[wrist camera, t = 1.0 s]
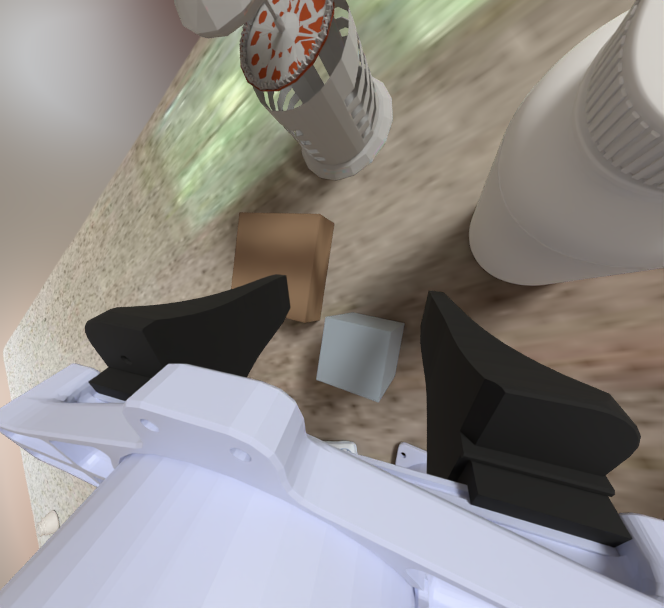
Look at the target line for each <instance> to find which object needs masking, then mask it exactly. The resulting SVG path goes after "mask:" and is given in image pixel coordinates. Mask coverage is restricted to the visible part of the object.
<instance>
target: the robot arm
mask: <svg viewBox="0 0 664 608" xmlns="http://www.w3.org/2000/svg"><path fill="white" fill-rule="evenodd" d="M290 308H291V306H290V299H289V291H288V284H287V276H286V275H279V274H275V275H270V276H267V277H264V278H261V279H259V280H256V281H253V282H250V283H248V284H245V285H242V286H239V287H236V288H234V289H231V290H228V291H225V292H221V293H218V294H214V295H210V296H206V297H202V298H197V299H192V300H187V301H182V302H175V303H168V304H160V305H150V306H135V307H117V308H113V309H110V310H108V311H106V312H104V313H102V314H100V315H98V316H96V317H94V318H92V319H91V320H89V321H87V323H86V325H85V333H86V335H87V338H88V339H89V341H90V343H91V344H92V346H93V347H94V348H95V350H96V351H97V352H98V354H99V355H100V356H101V358H102V359H103V360H104V362H105V363H106V364H107V366H108V368H107V369H106V370H104V371H103V372H101V373H100V372H99V371H98V370H96V369H94V368H91V367H87V366H83V365H80V364H71V365H69V366H67V367H66V368H64V369H63V370H61V371H59V372H58V373H56V374H55V375H53V376H51V377H50V378H48V379H46V380H45V381H43V382H42V383H40V384H38V385H37V386H35V387H33V388H32V389H30V390H29V391H27V392H25V393H24V394H22V395H20V396H19V397H17V398H16V399H14V400H12V401H11V402H9V403H8V404H6V405H4V406H3V407H1V408H0V432H1V433H2V434H3V435H5V436H6V437H8V438H9V439H10V440H12V441H13V442H14V443H16V444H17V445H19V446H20V447H21V448H23V449H24V450H25V451H27V452H28V453H29V454H31V455H32V456H34V457H35V458H36V459H38V460H40V461H43V462H45V463H47V464H49V465H52V466H54V467H56V468H58V469H60V470H63V471H65V472H67V473H69V474H71V475H73V476H75V477H77V478H79V479H81V480H83V481H85V482H87V483H89V484H91V485H93V486H95V487H97V488H96V489H95V490H94V491H93V493H92V494H91V495H90V496H89V497H88V498H87V499H86V500H85V501H84V502H83V503H82V504H81V505H80V506H79V507H78V508H77V510H76V511H75V512H74V513H73V514H72V515H71V516H70V517H69V518H68V519H67V520H66V521H65V522H64V523H63V524H62V526H61V527H60V528H59V529H58V530H57V531H56V532H55V533H54V534H53V535H52V536H51V537H50V538H49V539H48V540H47V541H46V543H45V544H44V545H43V546H42V547H41V548H40V549H39V550H38V551H37V552H36V553H35V554H34V555H33V556H32V557H31V559H30V560H29V561H28V562H27V563H26V564H25V565H24V566H23V567H22V568H21V569H20V570H19V571H18V572H17V573H16V574H15V576H14V577H13V578H12V579H11V580H10V581H9V582H8V583H7V584H6V585H5V586H4V587H3V588H2V589H1V591H0V608H664V520H661V519H657V518H654V517H650V516H646V515H642V514H637V513H619V514H618V513H617V511H616V509H615V508H614V506H613V504H612V502H611V501H610V499H609V497H608V496H610V497H612V496H614V495H615V490H614V488H613V487H612V485H611V484H610V482H609V480H608V479H607V477H606V474H608V473H609V472H610V471H612V470H613V469H614V468H616V467H617V466H618V465H620V464H621V463H622V462H623V461H625V460H626V459H627V458H629V457H630V456H631V455H632V454H633V452H634V451H635V450H636V449H637V448H638V446H639V443H640V438H641V435H640V433H639V430H638V428H637V426H636V425H635V424H634V422H633V421H632V420H631V419H630V418H629V416H628V415H627V414H626V413H625V412H624V410H623V409H622V408H621V407H620V406H619V404H618V403H617V402H616V401H615V400H614V399H613V397H612V396H611V395H610V394H609V393H606V392H604V391H602V390H599V389H597V388H594V387H592V386H589V385H587V384H585V383H582V382H580V381H577V380H575V379H573V378H570V377H568V376H565V375H563V374H561V373H559V372H557V371H555V370H553V369H550V368H548V367H546V366H544V365H542V364H540V363H538V362H536V361H534V360H532V359H530V358H529V357H527V356H525V355H523V354H521V353H520V352H518V351H516V350H514V349H513V348H511V347H509V346H508V345H506V344H504V343H503V342H501V341H500V340H498V339H497V338H495V337H494V336H493V335H491V334H490V333H488V332H487V331H485V330H484V329H483V328H482V327H480V326H479V325H478V324H477V323H475V322H474V321H473V320H472V319H471V318H470V317H468V316H467V315H466V314H465V313H464V312H463V311H462V310H461V309H460V308H459V307H458V306H457V305H456V304H455V303H454V302H453V301H452V300H451V299H450V298H449V297H448V296H447V295H446V294H445V293H443V292H436V291H429V292H428V296H427V301H426V305H425V309H424V314H423V318H422V322H421V335H420V344H421V352H422V359H423V366H424V374H425V381H426V392H427V451H424V450H422V449H420V448H417V447H415V446H412V445H410V444H408V443H405V442H401V443H400V444H399V447H398V452H397V458H396V463H395V465H394V464H390V463H387V462H383V461H380V460H376V459H372V458H369V457H365V456H362V455H358V454H355V453H351V452H348V451H344V450H341V449H339V448H336V447H334V446H332V445H330V444H328V443H326V442H324V441H322V440H320V439H318V438H316V437H313V436H311V435H309V434H307V433H306V431H305V423H304V417H303V415H302V413H301V411H300V409H299V407H298V406H297V404H296V402H295V400H294V399H292V398H291V397H290V396H289V395H288V394H286V393H285V392H284V391H283V390H282V389H280V388H278V387H275V386H273V385H270V384H268V383H265V382H263V381H259V380H255V379H250V378H247V376H248V374H249V372H250V370H251V369H252V367H253V365H254V363H255V362H256V360H257V358H258V357H259V355H260V354H261V352H262V351H263V349H264V348H265V346H266V345H267V344H268V342H269V341H270V340H271V338H272V337H273V336H274V334H275V333H276V332H277V330H278V329H279V327H280V326H281V325H282V323H283V322H284V320H285V318H286V316H287V314H288V312H289V310H290ZM401 452H404V453H405V454H406V455H405V456H404V455H402V454H401Z"/></svg>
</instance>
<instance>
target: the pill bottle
mask: <svg viewBox="0 0 664 608" xmlns="http://www.w3.org/2000/svg"><path fill="white" fill-rule="evenodd" d="M469 242H470V247H471V251H472V253H473V255H474V257H475V259H476V261H477V262H478V263H479V265H480V266H481V267H482V268H483V269H484V270H485V271H487V272H488V273H489V274H491V275H492V276H494V277H496V278H498V279H500V280H503V281H506V282H509V283H513V284H519V285H530V286H536V285H547V284H554V283H561V282H568V281H575V280H583V279H590V278H597V277H604V276H611V275H618V274H625V273H632V272H639V271H647V270H654V269H661V268H664V0H636V1H635V3H634V4H633V6H632V7H631V9H630V10H628V11H626V12H625V13H623V14H621V15H619V16H618V17H616V18H614V19H613V20H611V21H609V22H608V23H606V24H605V25H603V26H602V27H600V28H599V29H597V30H596V31H595V32H593V33H592V34H590V35H589V36H588V37H586V38H585V39H584V40H582V41H581V42H580V43H579V44H577V45H576V46H575V47H574V48H572V49H571V50H570V51H569V52H568V53H567V54H565V55H564V56H563V57H562V58H561V59H560V60H559V61H558V62H557V63H556V64H555V65H554V66H553V67H552V68H551V69H550V70H549V71H548V72H547V73H546V74H545V75H544V76H543V77H542V78H541V80H540V81H539V82H538V83H537V84H536V85H535V86H534V87H533V89H532V90H531V91H530V92H529V93H528V95H527V96H526V97H525V99H524V100H523V102H522V103H521V104H520V106H519V107H518V109H517V111H516V112H515V114H514V116H513V118H512V119H511V121H510V123H509V125H508V127H507V129H506V132H505V134H504V136H503V139H502V141H501V144H500V146H499V149H498V152H497V154H496V157H495V159H494V162H493V165H492V167H491V170H490V172H489V175H488V178H487V180H486V183H485V186H484V188H483V191H482V193H481V196H480V199H479V201H478V204H477V206H476V209H475V212H474V214H473V217H472V220H471V223H470V228H469Z"/></svg>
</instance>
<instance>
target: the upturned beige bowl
mask: <svg viewBox="0 0 664 608" xmlns="http://www.w3.org/2000/svg"><path fill="white" fill-rule="evenodd" d="M59 524H60V523H59V517H58V515H57V513H56V512H55V511H53V510H52V511H51V512H49V513H48V514H47V515H46V516H45V517H44V518H43V519H42V520H41V522H39V523H37V533H38V536H39V537H41V536H42V535H49V534H53V533H55V532H56V531H57V530H58V529H59Z"/></svg>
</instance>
